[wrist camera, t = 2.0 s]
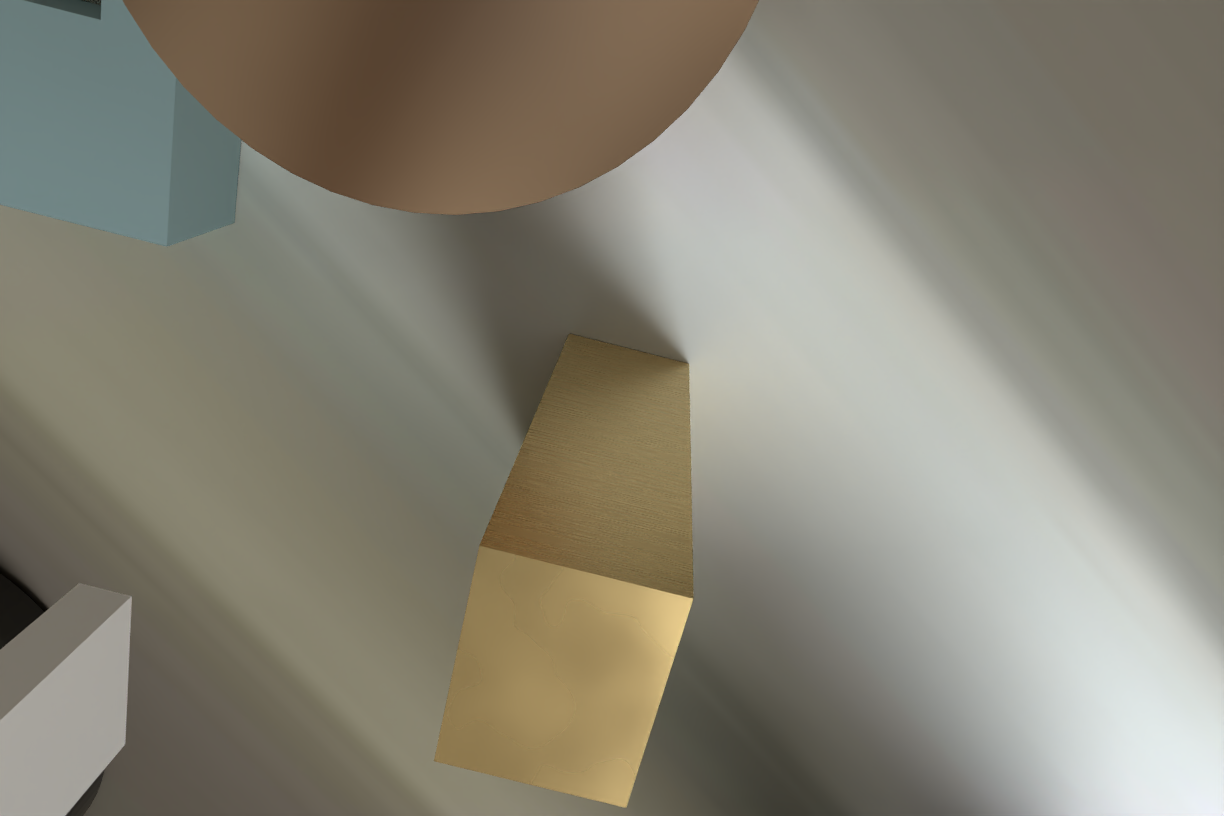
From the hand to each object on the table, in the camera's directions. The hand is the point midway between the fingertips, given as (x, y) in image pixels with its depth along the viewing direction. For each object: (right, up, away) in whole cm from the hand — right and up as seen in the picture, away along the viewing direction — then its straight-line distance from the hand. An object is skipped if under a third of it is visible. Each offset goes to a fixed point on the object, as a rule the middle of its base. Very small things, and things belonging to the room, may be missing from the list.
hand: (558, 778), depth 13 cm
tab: (+1, +5, +13) cm, 14 cm away
